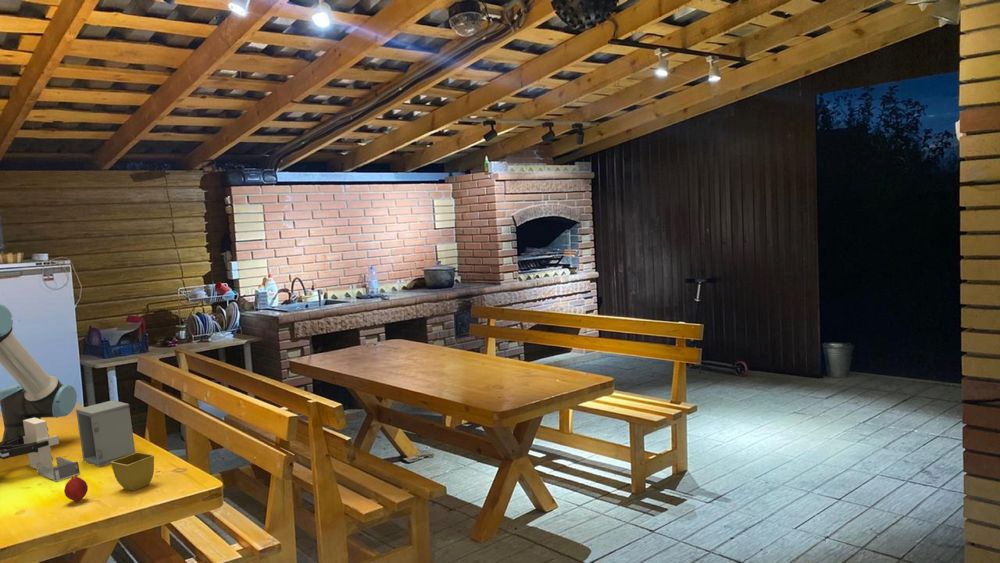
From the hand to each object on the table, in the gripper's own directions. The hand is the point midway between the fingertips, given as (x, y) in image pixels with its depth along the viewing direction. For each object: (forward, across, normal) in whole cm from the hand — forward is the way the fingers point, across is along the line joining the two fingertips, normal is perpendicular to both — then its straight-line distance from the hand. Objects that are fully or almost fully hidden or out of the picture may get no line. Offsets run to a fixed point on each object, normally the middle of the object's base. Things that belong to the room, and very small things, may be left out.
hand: (51, 437), depth 251 cm
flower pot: (+3, +52, -9) cm, 52 cm away
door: (-4, 0, -9) cm, 10 cm away
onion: (-12, +47, -9) cm, 49 cm away
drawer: (-4, +14, -9) cm, 17 cm away
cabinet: (+12, +14, -9) cm, 20 cm away
